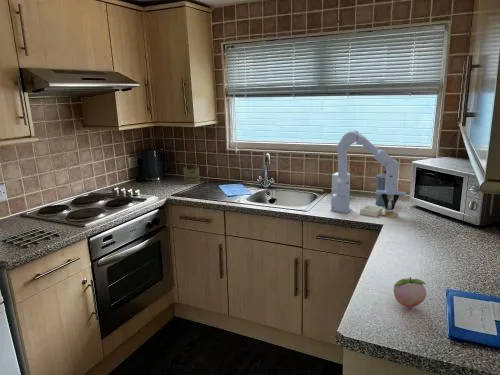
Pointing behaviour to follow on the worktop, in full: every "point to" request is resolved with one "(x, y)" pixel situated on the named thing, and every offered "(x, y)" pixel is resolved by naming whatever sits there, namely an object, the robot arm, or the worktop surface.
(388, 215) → the stud block
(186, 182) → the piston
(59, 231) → the worktop surface
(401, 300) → the decorative fruit
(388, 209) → the coffee tamper
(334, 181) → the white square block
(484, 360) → the worktop surface
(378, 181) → the moka pot
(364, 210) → the tray
